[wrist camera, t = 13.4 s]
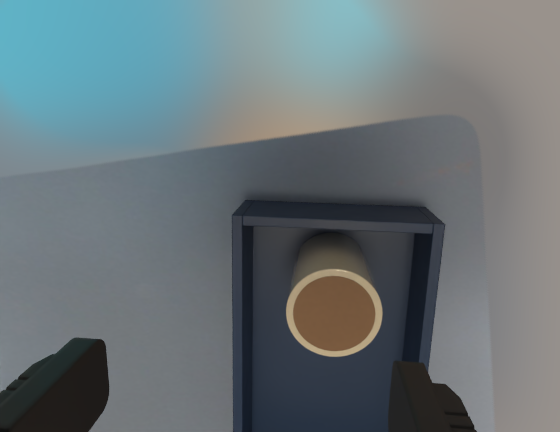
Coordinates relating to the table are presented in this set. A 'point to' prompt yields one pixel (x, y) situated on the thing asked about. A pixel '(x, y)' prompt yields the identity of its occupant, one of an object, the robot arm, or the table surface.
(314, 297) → the cup
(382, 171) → the table surface
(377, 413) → the navy tray
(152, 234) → the table surface
